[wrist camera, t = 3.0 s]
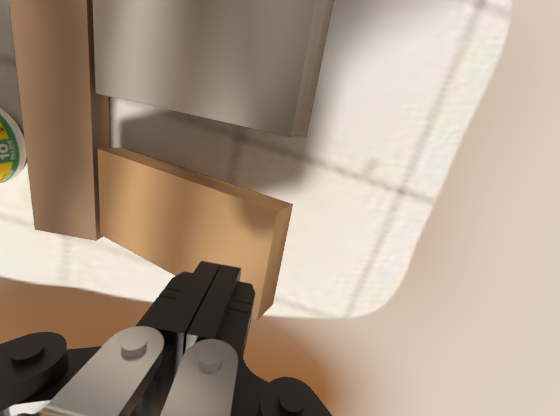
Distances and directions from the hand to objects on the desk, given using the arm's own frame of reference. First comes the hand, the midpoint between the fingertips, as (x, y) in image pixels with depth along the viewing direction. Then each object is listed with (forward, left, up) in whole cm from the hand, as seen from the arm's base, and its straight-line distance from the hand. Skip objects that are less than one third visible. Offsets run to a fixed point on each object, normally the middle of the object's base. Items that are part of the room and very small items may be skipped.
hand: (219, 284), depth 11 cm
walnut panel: (-12, +4, -8) cm, 15 cm away
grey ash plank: (-3, +8, -6) cm, 11 cm away
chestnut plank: (-3, 0, -6) cm, 6 cm away
